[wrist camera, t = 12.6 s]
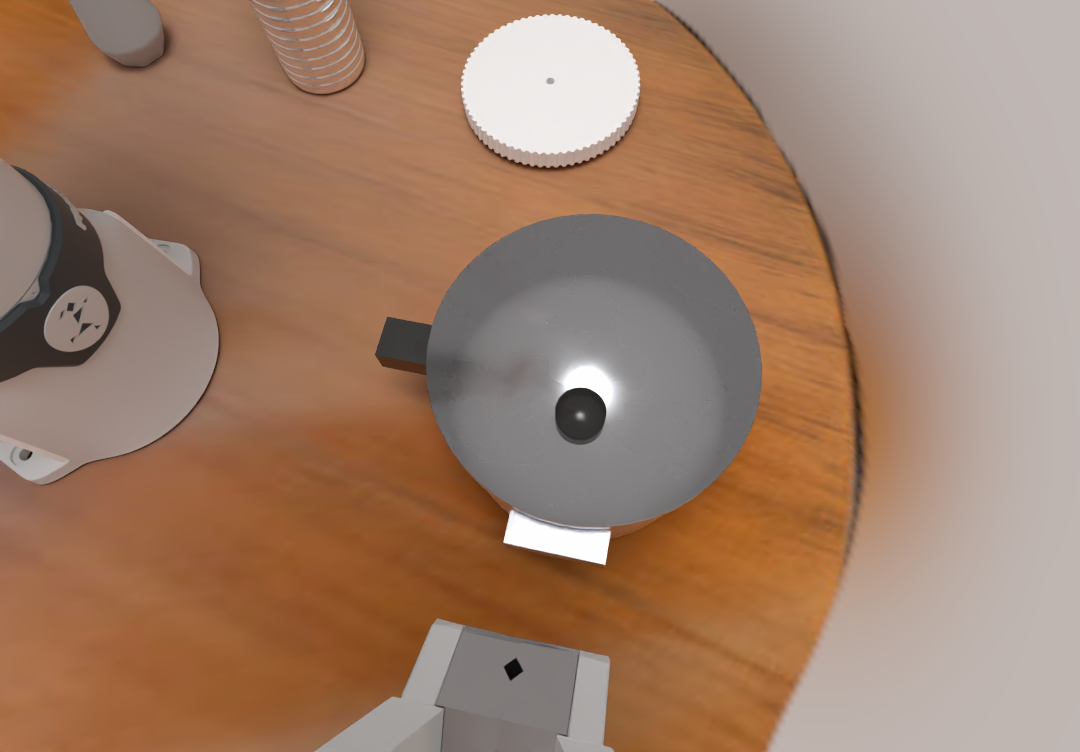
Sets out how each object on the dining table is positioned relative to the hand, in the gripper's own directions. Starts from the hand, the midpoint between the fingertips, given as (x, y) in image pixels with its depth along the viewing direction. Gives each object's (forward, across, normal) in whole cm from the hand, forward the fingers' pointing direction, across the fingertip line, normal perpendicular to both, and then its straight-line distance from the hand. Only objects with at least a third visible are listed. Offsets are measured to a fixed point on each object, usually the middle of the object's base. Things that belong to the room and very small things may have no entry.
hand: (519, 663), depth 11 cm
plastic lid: (+49, +8, -7) cm, 50 cm away
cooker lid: (+24, 0, +4) cm, 24 cm away
